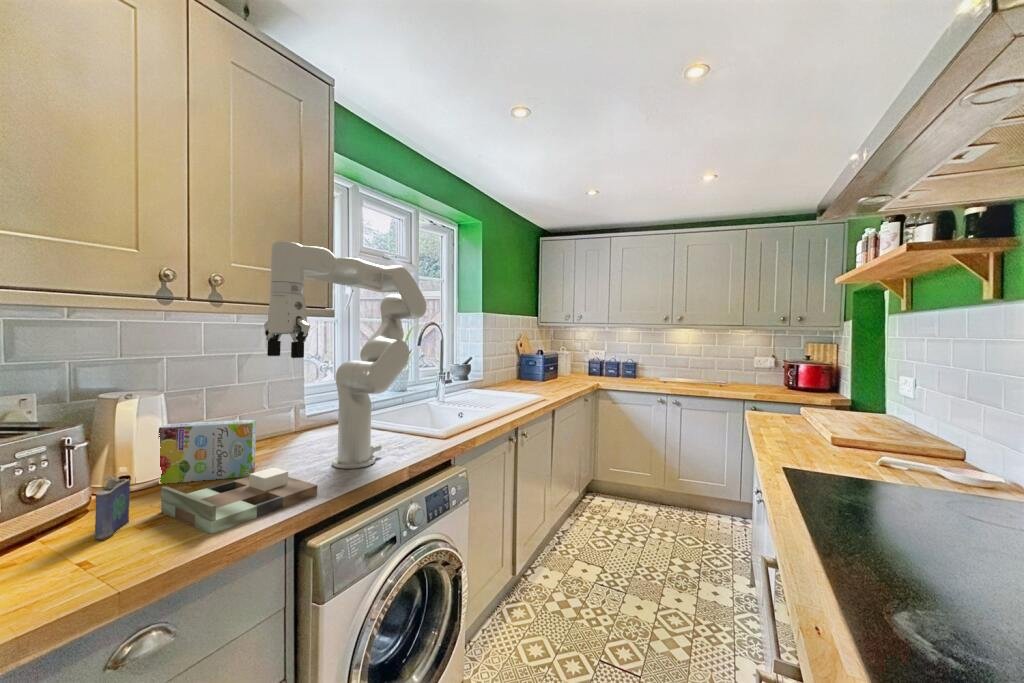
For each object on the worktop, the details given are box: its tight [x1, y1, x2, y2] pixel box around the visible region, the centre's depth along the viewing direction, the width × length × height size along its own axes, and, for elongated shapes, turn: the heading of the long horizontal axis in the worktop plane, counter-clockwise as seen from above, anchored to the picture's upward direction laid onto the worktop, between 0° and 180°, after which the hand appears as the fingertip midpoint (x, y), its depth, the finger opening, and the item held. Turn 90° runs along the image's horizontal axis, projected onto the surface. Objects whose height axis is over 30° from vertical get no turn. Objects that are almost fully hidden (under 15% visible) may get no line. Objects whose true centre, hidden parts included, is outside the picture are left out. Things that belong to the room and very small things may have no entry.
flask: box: [94, 476, 131, 542], centre depth 85 cm, size 9×3×11 cm, turn 20°
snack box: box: [158, 419, 257, 485], centre depth 116 cm, size 21×6×15 cm, turn 111°
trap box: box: [160, 476, 318, 535], centre depth 99 cm, size 24×20×6 cm
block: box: [249, 467, 289, 491], centre depth 105 cm, size 6×6×3 cm
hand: (285, 356), depth 110 cm, fingers open, 9 cm apart
